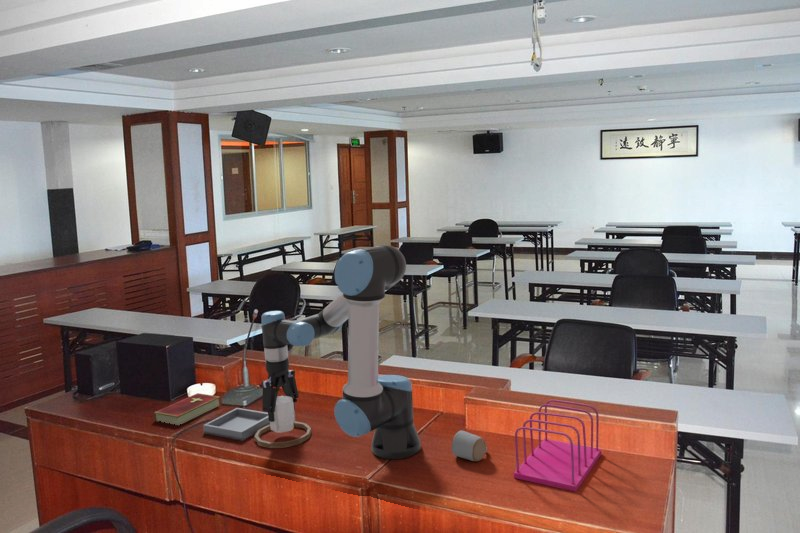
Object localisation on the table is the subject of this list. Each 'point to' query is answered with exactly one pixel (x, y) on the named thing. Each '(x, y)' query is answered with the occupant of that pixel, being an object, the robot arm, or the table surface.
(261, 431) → the holder ring
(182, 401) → the hardcover book
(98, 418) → the table surface
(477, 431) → the table surface
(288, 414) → the white cup
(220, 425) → the tray
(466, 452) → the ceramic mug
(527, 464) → the file sorter
